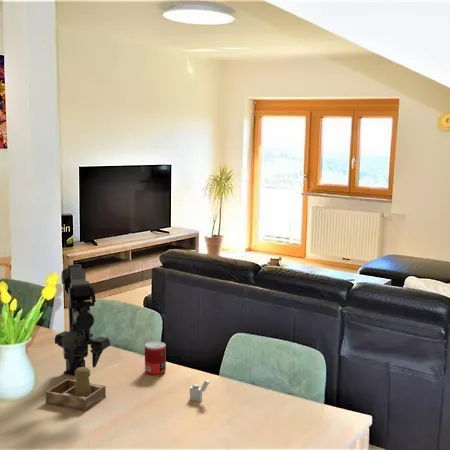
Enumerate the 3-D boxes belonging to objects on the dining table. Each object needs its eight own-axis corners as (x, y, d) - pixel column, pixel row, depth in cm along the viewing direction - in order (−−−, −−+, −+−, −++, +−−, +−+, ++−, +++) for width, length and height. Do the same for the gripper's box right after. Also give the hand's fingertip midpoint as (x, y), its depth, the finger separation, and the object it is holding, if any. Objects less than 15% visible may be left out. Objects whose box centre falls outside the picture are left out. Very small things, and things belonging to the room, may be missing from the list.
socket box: (45, 402, 208) (45, 391, 207) (67, 389, 219) (67, 378, 218) (85, 411, 202) (85, 399, 201) (105, 397, 213) (105, 386, 212)
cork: (87, 403, 205) (86, 372, 204) (70, 401, 207) (69, 370, 205) (95, 396, 211) (94, 365, 210) (78, 394, 213) (78, 364, 211)
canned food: (164, 376, 231) (164, 348, 230) (143, 375, 231) (143, 347, 230) (166, 368, 239) (166, 341, 237) (146, 368, 239) (146, 340, 237)
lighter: (189, 399, 211) (189, 377, 210) (191, 397, 213) (191, 375, 212) (207, 403, 208) (208, 381, 207) (210, 401, 210) (210, 379, 209)
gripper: (43, 323, 201) (44, 369, 203) (91, 331, 194) (92, 378, 196) (64, 314, 211) (65, 358, 214) (110, 321, 204) (111, 366, 207)
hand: (82, 365), depth 207 cm, fingers open, 9 cm apart
